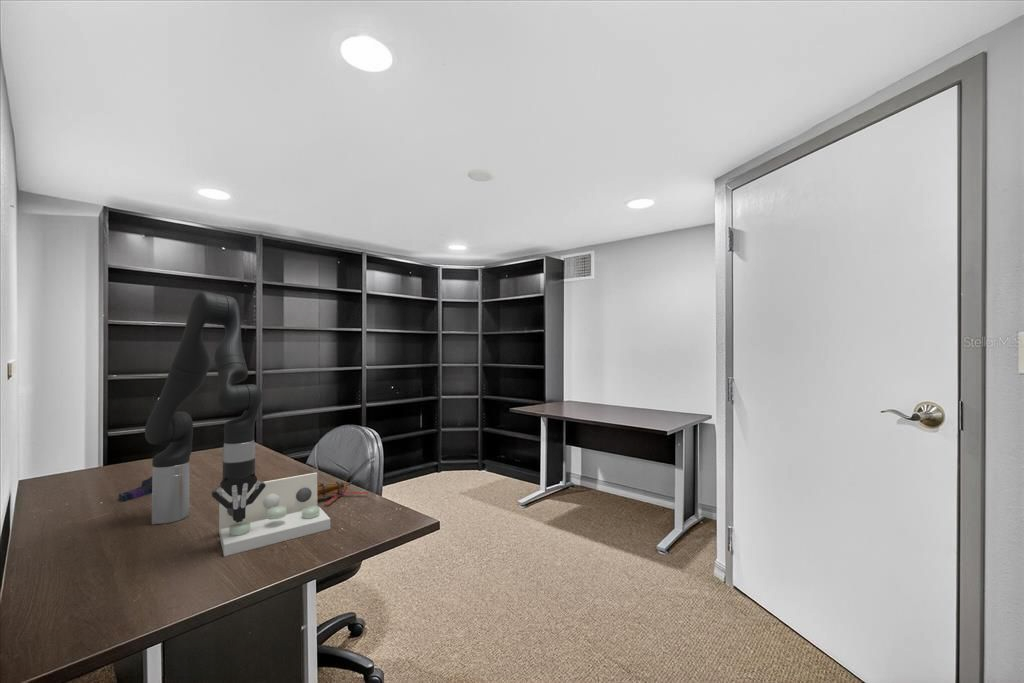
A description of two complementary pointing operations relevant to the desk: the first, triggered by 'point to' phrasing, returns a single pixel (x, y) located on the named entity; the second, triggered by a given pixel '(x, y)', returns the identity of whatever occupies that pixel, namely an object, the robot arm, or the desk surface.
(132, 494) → the handgun
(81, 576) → the desk surface
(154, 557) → the desk surface
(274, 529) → the button panel
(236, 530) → the button left
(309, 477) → the pattern card
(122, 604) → the desk surface
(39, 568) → the desk surface
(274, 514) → the button middle
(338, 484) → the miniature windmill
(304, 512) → the button right
